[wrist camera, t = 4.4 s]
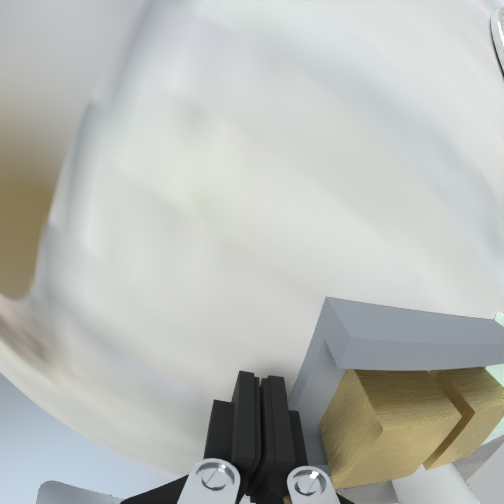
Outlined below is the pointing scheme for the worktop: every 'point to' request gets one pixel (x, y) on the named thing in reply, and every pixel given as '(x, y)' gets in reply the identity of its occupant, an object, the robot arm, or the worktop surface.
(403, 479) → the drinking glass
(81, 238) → the worktop surface
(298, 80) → the worktop surface
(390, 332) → the slot board
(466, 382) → the tan cube
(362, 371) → the gold cube
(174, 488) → the robot arm
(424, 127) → the worktop surface
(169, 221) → the worktop surface
